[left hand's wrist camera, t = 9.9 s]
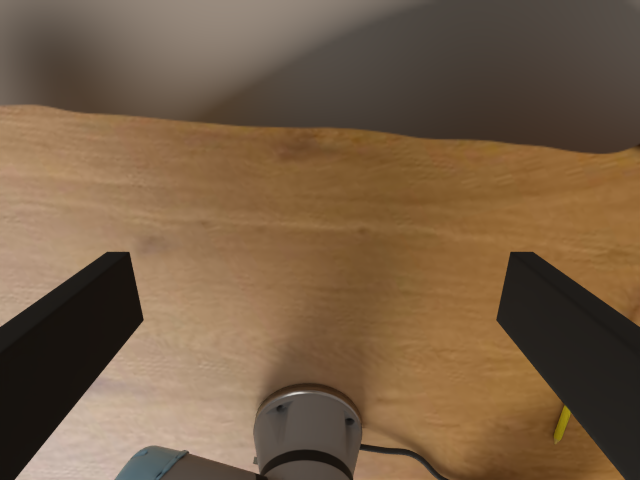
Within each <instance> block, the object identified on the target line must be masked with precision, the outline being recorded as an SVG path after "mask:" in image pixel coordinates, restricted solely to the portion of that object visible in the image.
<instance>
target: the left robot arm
mask: <svg viewBox="0 0 640 480" xmlns="http://www.w3.org/2000/svg"><path fill="white" fill-rule="evenodd" d="M143 320H144V319H143V315H142V310H141V305H140V300H139V295H138V291H137V286H136V281H135V276H134V272H133V267H132V262H131V257H130V252H106V253H105V254H103V255H102V256H101V257H99V258H98V259H96V260H95V261H94V262H92V263H91V264H89V265H88V266H86V267H85V268H84V269H82V270H81V271H79V272H78V273H76V274H75V275H74V276H72V277H71V278H69V279H68V280H67V281H65V282H64V283H62V284H61V285H59V286H58V287H57V288H55V289H54V290H52V291H51V292H49V293H48V294H47V295H45V296H44V297H42V298H41V299H39V300H38V301H37V302H35V303H34V304H32V305H31V306H30V307H28V308H27V309H25V310H24V311H22V312H21V313H20V314H18V315H17V316H15V317H14V318H12V319H11V320H10V321H8V322H7V323H5V324H4V325H3V326H1V327H0V480H15V479H16V477H17V476H18V475H19V474H20V472H21V471H22V470H23V469H24V467H25V466H26V465H27V464H28V462H29V461H30V460H31V459H32V458H33V456H34V455H35V454H36V453H37V451H38V450H39V449H40V448H41V446H42V445H43V444H44V443H45V441H46V440H47V439H48V438H49V437H50V435H51V434H52V433H53V432H54V430H55V429H56V428H57V427H58V425H59V424H60V423H61V422H62V420H63V419H64V418H65V417H66V416H67V414H68V413H69V412H70V411H71V409H72V408H73V407H74V406H75V404H76V403H77V402H78V401H79V399H80V398H81V397H82V396H83V394H84V393H85V392H86V391H87V390H88V388H89V387H90V386H91V385H92V383H93V382H94V381H95V380H96V378H97V377H98V376H99V375H100V373H101V372H102V371H103V370H104V369H105V367H106V366H107V365H108V364H109V362H110V361H111V360H112V359H113V357H114V356H115V355H116V354H117V352H118V351H119V350H120V349H121V348H122V346H123V345H124V344H125V343H126V341H127V340H128V339H129V338H130V336H131V335H132V334H133V333H134V331H135V330H136V329H137V328H138V326H139V325H140V324H141V323H142V322H143ZM496 320H497V322H498V323H499V324H500V325H501V326H502V328H503V329H504V330H505V331H506V333H507V334H508V335H509V336H510V338H511V339H512V340H513V341H514V343H515V344H516V345H517V346H518V348H519V349H520V350H521V351H522V352H523V354H524V355H525V356H526V357H527V359H528V360H529V361H530V362H531V364H532V365H533V366H534V367H535V369H536V370H537V371H538V372H539V373H540V375H541V376H542V377H543V378H544V380H545V381H546V382H547V383H548V385H549V386H550V387H551V388H552V390H553V391H554V392H555V393H556V394H557V396H558V397H559V398H560V399H561V401H562V402H563V403H564V404H565V406H566V407H567V408H568V409H569V411H570V412H571V413H572V414H573V416H574V417H575V418H576V419H577V420H578V422H579V423H580V424H581V425H582V427H583V428H584V429H585V430H586V432H587V433H588V434H589V435H590V437H591V438H592V439H593V440H594V441H595V443H596V444H597V445H598V446H599V448H600V449H601V450H602V451H603V453H604V454H605V455H606V456H607V458H608V459H609V460H610V461H611V462H612V464H613V465H614V466H615V467H616V469H617V470H618V471H619V472H620V474H621V475H622V476H623V477H624V479H625V480H640V327H639V326H637V325H636V324H635V323H633V322H632V321H630V320H629V319H628V318H626V317H625V316H623V315H622V314H620V313H619V312H618V311H616V310H615V309H613V308H612V307H610V306H609V305H608V304H606V303H605V302H603V301H602V300H600V299H599V298H598V297H596V296H595V295H593V294H592V293H591V292H589V291H588V290H586V289H585V288H583V287H582V286H581V285H579V284H578V283H576V282H575V281H573V280H572V279H571V278H569V277H568V276H566V275H565V274H564V273H562V272H561V271H559V270H558V269H556V268H555V267H554V266H552V265H551V264H549V263H548V262H546V261H545V260H544V259H542V258H541V257H539V256H538V255H537V254H535V253H534V252H510V257H509V262H508V267H507V272H506V276H505V281H504V286H503V291H502V295H501V300H500V305H499V310H498V315H497V319H496ZM361 440H362V426H361V419H360V415H359V412H358V410H357V408H356V406H355V405H354V403H353V402H352V401H351V400H350V399H349V398H348V397H346V396H345V395H344V394H342V393H341V392H339V391H337V390H335V389H333V388H330V387H327V386H323V385H317V384H298V385H292V386H288V387H285V388H283V389H280V390H278V391H276V392H275V393H273V394H272V395H270V396H269V397H268V398H267V399H266V400H265V401H264V402H263V403H262V405H261V406H260V408H259V410H258V412H257V415H256V420H255V425H254V442H255V448H256V454H257V457H254V462H253V464H257V465H258V466H259V472H260V475H259V474H256V473H253V472H250V471H246V470H243V469H240V468H236V467H233V466H229V465H226V464H223V463H219V462H216V461H212V460H209V459H206V458H202V457H199V456H195V455H192V454H189V451H186V450H183V451H178V450H173V449H169V448H164V447H160V446H149V447H146V448H143V449H142V450H140V451H139V452H137V453H136V454H135V455H134V456H133V457H132V458H131V459H130V460H129V461H128V463H127V464H126V465H125V466H124V467H123V469H122V470H121V471H120V473H119V474H118V476H117V477H116V478H115V480H353V474H354V470H355V466H356V461H357V457H358V453H359V450H364V451H371V452H377V453H384V454H399V455H407V456H410V457H413V458H415V459H417V460H418V461H419V462H421V463H422V464H423V465H424V466H425V467H426V468H427V469H428V470H429V472H430V473H431V474H432V475H433V476H434V477H436V478H437V479H438V480H448V479H446V478H444V477H443V476H441V475H440V474H439V473H437V472H436V471H435V470H434V468H433V467H432V466H431V465H430V464H429V463H428V462H427V461H426V460H425V459H424V458H423V457H421V456H420V455H418V454H417V453H415V452H412V451H410V450H406V449H397V448H384V447H377V446H371V445H364V444H361Z"/></svg>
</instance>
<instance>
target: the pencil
mask: <svg viewBox="0 0 640 480" xmlns="http://www.w3.org/2000/svg"><path fill="white" fill-rule="evenodd" d="M570 415H571V412H570V411H569V409H568V408H567V407H566V406H565V405H564V408H563V410H562V413H561V416H560V419H559V421H558V424H557V427H556V430H555V432H554V435H553V436H554V444H556V443H558V442H559V441H560V440H561V439H562V436H563V433H564V431H565V428H566V425H567V423H568V420H569V417H570Z"/></svg>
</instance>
